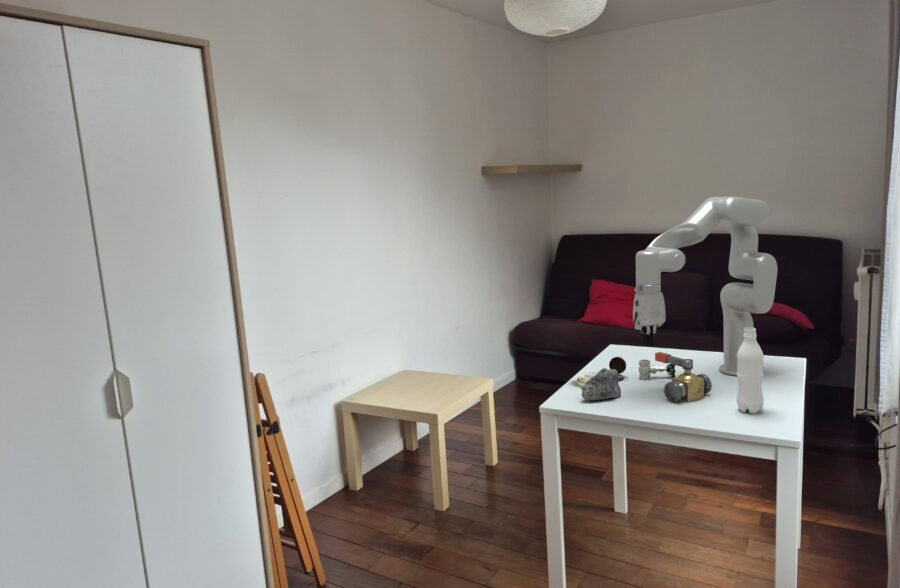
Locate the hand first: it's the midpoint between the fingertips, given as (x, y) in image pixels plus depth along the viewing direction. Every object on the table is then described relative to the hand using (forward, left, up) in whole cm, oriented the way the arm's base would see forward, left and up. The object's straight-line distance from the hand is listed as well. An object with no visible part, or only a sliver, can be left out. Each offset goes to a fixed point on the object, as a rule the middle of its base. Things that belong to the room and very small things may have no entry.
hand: (648, 345), depth 212 cm
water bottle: (-12, +28, -17) cm, 35 cm away
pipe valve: (-8, +9, -17) cm, 20 cm away
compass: (-4, -20, -17) cm, 27 cm away
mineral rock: (+13, -8, -17) cm, 23 cm away
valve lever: (-8, +3, -7) cm, 11 cm away
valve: (-15, -12, -17) cm, 26 cm away
